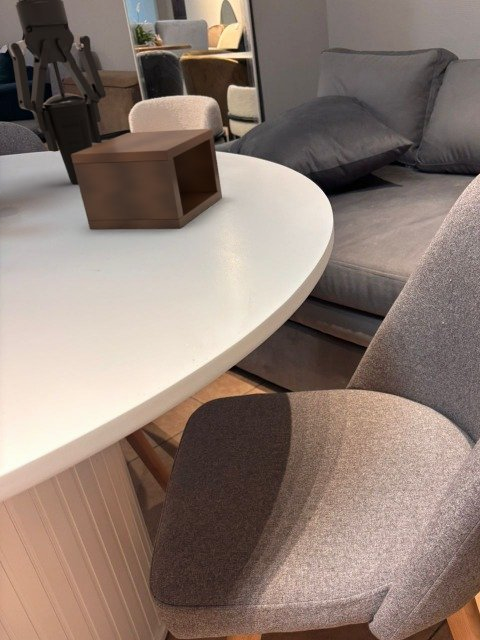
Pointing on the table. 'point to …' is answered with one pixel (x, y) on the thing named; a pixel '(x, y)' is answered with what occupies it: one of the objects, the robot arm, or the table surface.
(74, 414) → the table surface
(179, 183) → the walnut shelf
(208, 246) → the table surface
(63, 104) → the drinking cup
